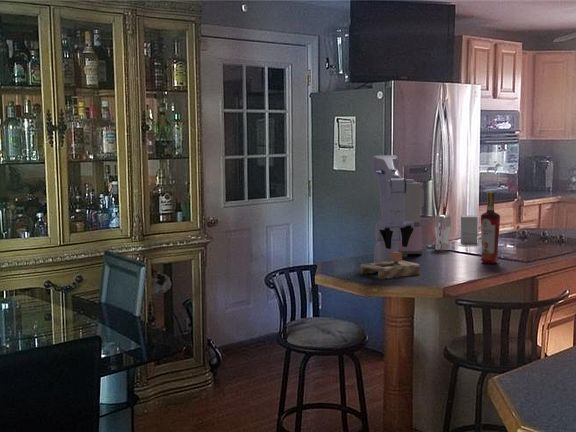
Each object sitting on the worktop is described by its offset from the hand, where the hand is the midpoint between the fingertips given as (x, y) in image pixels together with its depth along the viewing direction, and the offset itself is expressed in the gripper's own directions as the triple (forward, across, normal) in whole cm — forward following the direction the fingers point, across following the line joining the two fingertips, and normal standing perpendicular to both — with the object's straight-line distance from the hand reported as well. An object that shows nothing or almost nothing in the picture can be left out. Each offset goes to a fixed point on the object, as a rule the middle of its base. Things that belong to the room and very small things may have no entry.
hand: (396, 247), depth 261 cm
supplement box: (+10, +74, +40) cm, 85 cm away
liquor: (+10, +43, -4) cm, 44 cm away
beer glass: (+10, +50, +32) cm, 60 cm away
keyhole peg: (+10, 0, 0) cm, 10 cm away
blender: (+10, +31, +30) cm, 44 cm away
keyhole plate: (+10, -3, 0) cm, 10 cm away
